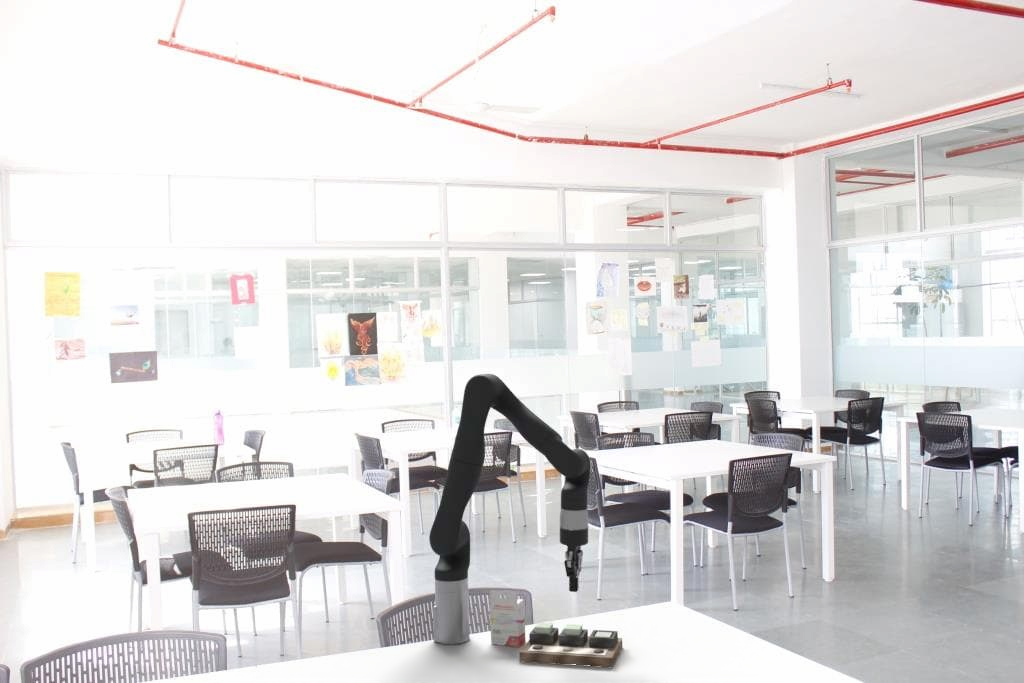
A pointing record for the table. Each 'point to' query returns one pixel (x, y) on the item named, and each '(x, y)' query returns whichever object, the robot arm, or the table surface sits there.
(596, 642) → the button panel
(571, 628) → the button middle
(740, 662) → the table surface
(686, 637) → the table surface
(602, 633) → the button
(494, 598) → the ink cartridge box
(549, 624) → the button
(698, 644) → the table surface
